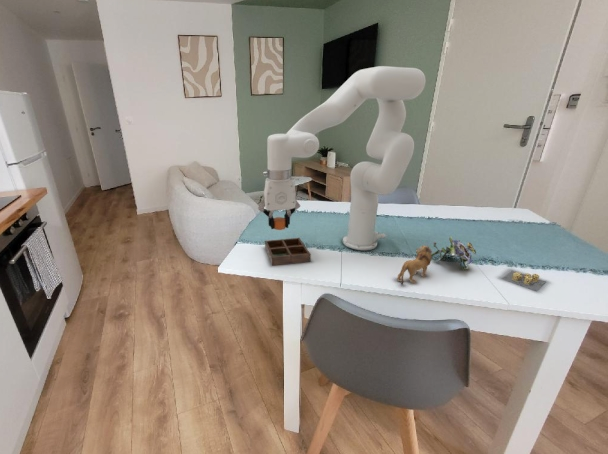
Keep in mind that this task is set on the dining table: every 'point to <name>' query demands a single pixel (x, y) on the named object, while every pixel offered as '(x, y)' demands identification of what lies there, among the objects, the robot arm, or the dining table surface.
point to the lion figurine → (416, 264)
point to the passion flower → (457, 252)
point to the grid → (287, 251)
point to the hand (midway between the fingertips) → (279, 226)
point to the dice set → (525, 280)
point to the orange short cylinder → (279, 223)
